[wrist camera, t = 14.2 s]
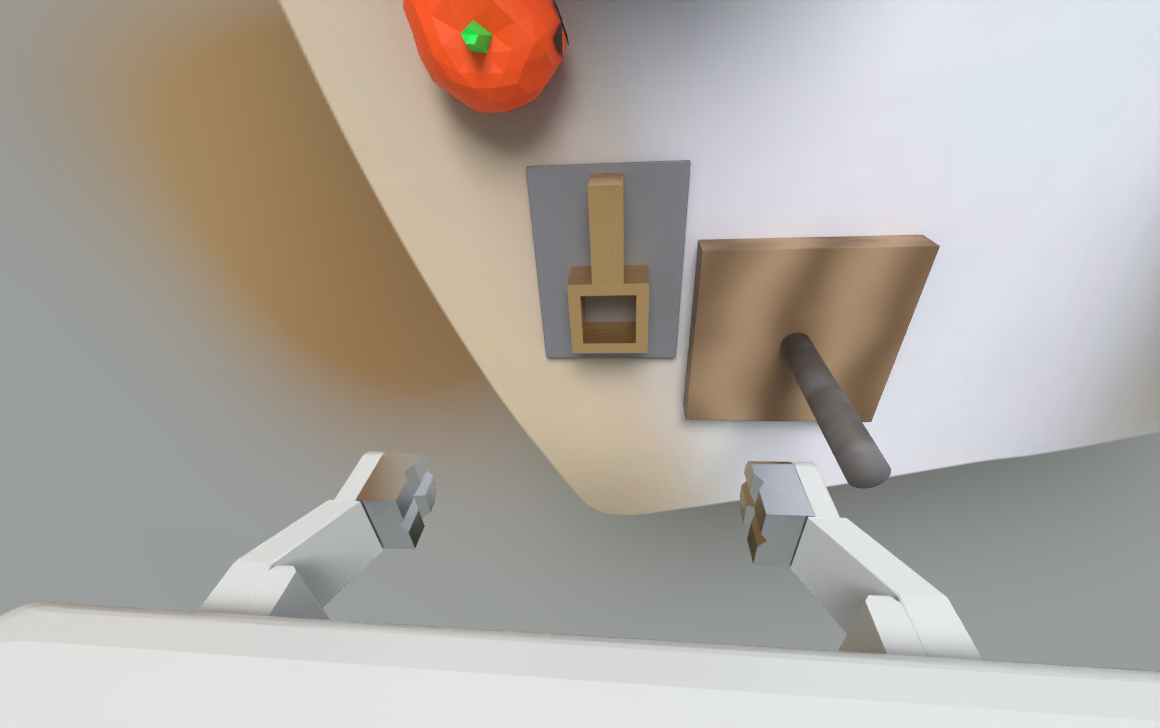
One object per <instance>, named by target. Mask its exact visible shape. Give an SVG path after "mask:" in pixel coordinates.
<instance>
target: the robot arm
mask: <svg viewBox="0 0 1160 728" xmlns="http://www.w3.org/2000/svg"><path fill="white" fill-rule="evenodd" d="M428 467H429V461H428V458H427V456H426V455H424V454H416V453H397V452H367V453H366V454H364V455H363V456H362V458H361V460H360V461H359V463H358V464H357V466H356V467H355V469H354V470H353V472H352V473H351V475H350V476H349V478H348V480H347V481H346V483H345V484H344V486H343V487H342V489H341V490H340V492H339V493H338V495H337V497H336V498H335V500H328V501H327V502H325V503H324V504H322V505H320V506H319V507H318V508H316V509H315V510H313V511H311V512H310V513H308V514H307V515H305V516H304V517H302V518H301V519H299V520H298V521H296V522H295V523H293V524H292V525H290V526H288V527H287V528H286V529H284V530H282V531H281V532H279V533H278V534H276V535H275V536H273V537H272V538H270V539H269V540H267V541H266V542H264V543H263V544H261V545H260V546H258V547H256V548H255V549H253V550H252V551H250V552H249V553H248V554H246V555H244V556H243V557H241V558H240V559H238V560H237V561H235V563H234V564H233V565H232V566H231V568H230V569H229V570H228V572H227V573H226V574H225V576H224V577H223V578H222V580H221V581H220V582H219V583H218V585H217V586H216V587H215V589H214V590H213V591H212V593H211V594H210V595H209V597H208V598H207V599H206V601H205V602H204V603H203V605H202V606H201V607H200V608H199V610H198V611H197V612H196V611H180V610H164V609H148V608H147V609H146V608H131V607H115V606H100V605H99V606H98V605H83V604H69V603H57V602H35V603H31V604H26V605H23V606H20V607H17V608H15V609H13V610H11V611H9V612H7V613H4V614H2V615H0V728H1160V671H1152V670H1136V669H1119V668H1102V667H1086V666H1069V665H1054V664H1038V663H1021V662H1004V661H988V660H983V659H982V657H981V655H980V654H979V652H978V650H977V648H976V647H975V645H974V643H973V642H972V640H971V638H970V636H969V635H968V633H967V631H966V629H965V628H964V626H963V624H962V622H961V621H960V619H959V617H958V615H957V614H956V612H955V610H954V608H953V607H952V605H951V603H950V602H949V600H948V598H947V597H946V596H944V595H943V594H942V593H941V592H939V591H938V590H937V589H936V588H934V587H933V586H932V585H931V584H929V583H928V582H927V581H926V580H924V579H923V578H922V577H920V576H919V575H918V574H917V573H915V572H914V571H913V570H912V569H910V568H909V567H908V566H907V565H905V564H904V563H903V562H901V561H900V560H899V559H898V558H896V557H895V556H894V555H893V554H891V553H890V552H889V551H887V550H886V549H885V548H884V547H882V546H881V545H880V544H879V543H877V542H876V541H875V540H874V539H872V538H871V537H870V536H869V535H867V534H866V533H865V532H863V531H862V530H861V529H860V528H858V527H857V526H856V525H855V524H853V523H852V522H851V521H850V520H848V519H847V518H840V517H839V514H838V512H837V510H836V508H835V506H834V504H833V502H832V499H831V497H830V495H829V493H828V490H827V488H826V486H825V484H824V482H823V479H822V477H821V475H820V473H819V471H818V468H817V466H816V465H815V464H814V463H813V462H758V461H748V462H747V464H746V467H745V472H744V473H745V477H746V482H745V483H744V484H742V486H741V492H740V509H741V516H742V520H743V524H745V525H746V526H747V527H748V528H749V533H748V538H747V541H748V544H749V549H750V553H751V557H752V561H753V564H759V565H773V566H787V567H791V570H792V571H793V572H794V573H795V574H796V575H797V577H798V578H799V579H800V580H801V581H802V583H803V584H804V585H805V586H806V587H807V588H808V589H809V591H810V592H811V593H812V594H813V595H814V596H815V597H816V599H817V600H818V601H819V602H820V603H821V604H822V605H823V607H824V608H825V609H826V610H827V611H828V612H829V614H830V615H831V616H832V617H833V618H834V619H835V621H837V623H838V624H839V625H840V626H841V627H842V629H843V630H844V631H845V632H846V633H847V636H846V638H845V639H844V641H843V643H842V645H841V647H840V649H839V651H827V650H810V649H795V648H777V647H762V646H746V645H730V644H713V643H697V642H681V641H664V640H649V639H648V640H647V639H632V638H616V637H599V636H583V635H566V634H551V633H550V634H549V633H534V632H517V631H501V630H485V629H468V628H452V627H437V626H421V625H405V624H403V625H402V624H388V623H372V622H356V621H340V620H330V619H329V617H328V616H327V614H326V613H325V611H324V610H323V607H324V606H325V605H326V604H327V603H328V602H329V601H330V600H331V599H332V598H333V597H334V596H335V595H337V594H338V593H339V592H340V591H341V590H342V589H343V588H344V587H345V586H346V585H347V584H348V583H349V582H350V581H351V580H352V579H353V578H354V577H355V576H356V575H357V574H359V573H360V572H361V571H362V570H363V569H364V568H365V567H366V566H367V565H368V564H369V563H370V562H371V561H372V560H373V559H374V558H375V557H376V556H377V555H379V553H381V552H382V551H383V548H397V549H415V548H416V545H417V543H418V541H419V538H420V536H421V533H422V532H423V529H424V527H425V526H424V523H423V520H422V518H424V517H425V516H426V515H427V514H429V513H430V512H431V510H432V508H433V505H434V502H435V496H436V482H435V479H434V476H433V475H432V474H431V473H429V472H428V471H427V469H428Z"/></svg>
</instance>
